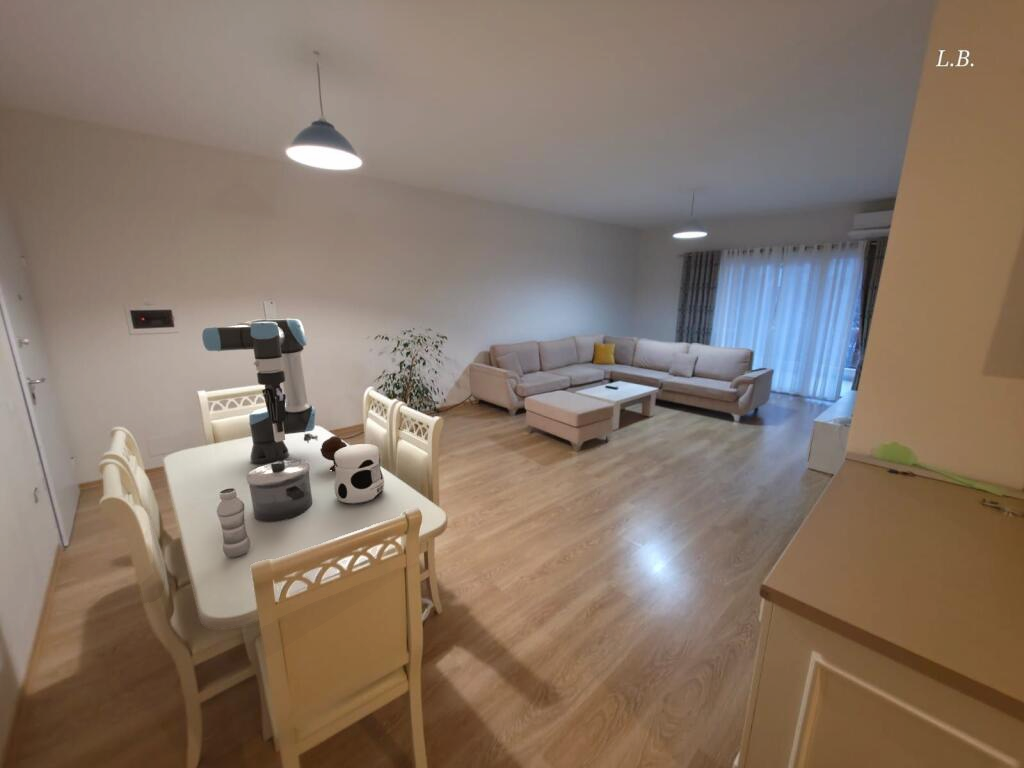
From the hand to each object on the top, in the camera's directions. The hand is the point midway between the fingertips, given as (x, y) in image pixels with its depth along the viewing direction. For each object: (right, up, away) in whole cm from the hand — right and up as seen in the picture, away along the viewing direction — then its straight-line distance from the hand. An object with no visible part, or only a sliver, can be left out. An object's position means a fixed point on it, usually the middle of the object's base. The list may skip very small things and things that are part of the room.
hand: (280, 440), depth 134 cm
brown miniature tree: (+1, -18, +41) cm, 45 cm away
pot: (-1, -26, +7) cm, 27 cm away
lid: (-4, -12, +6) cm, 15 cm away
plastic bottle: (-3, -31, -16) cm, 35 cm away
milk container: (+21, -24, +17) cm, 36 cm away
